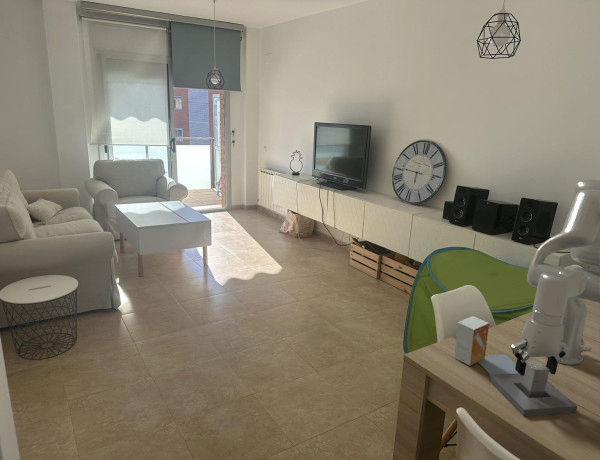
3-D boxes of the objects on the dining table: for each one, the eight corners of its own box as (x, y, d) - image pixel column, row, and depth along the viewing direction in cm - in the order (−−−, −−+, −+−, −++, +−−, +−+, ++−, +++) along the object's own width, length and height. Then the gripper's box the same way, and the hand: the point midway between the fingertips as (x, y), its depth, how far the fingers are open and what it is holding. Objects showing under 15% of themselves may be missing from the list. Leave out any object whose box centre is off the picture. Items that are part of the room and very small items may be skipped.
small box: (470, 366, 138) (474, 329, 134) (453, 357, 143) (456, 321, 139) (485, 358, 142) (489, 322, 139) (468, 350, 147) (472, 315, 144)
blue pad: (505, 355, 146) (505, 354, 146) (528, 376, 134) (529, 375, 134) (472, 357, 144) (472, 356, 144) (493, 378, 132) (493, 377, 132)
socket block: (536, 378, 134) (537, 372, 133) (575, 412, 118) (577, 406, 118) (489, 380, 131) (490, 374, 131) (523, 416, 116) (524, 409, 115)
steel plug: (532, 390, 127) (538, 360, 125) (542, 400, 123) (549, 369, 120) (518, 391, 126) (524, 361, 124) (528, 401, 122) (535, 370, 120)
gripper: (565, 310, 123) (552, 364, 127) (509, 311, 120) (499, 366, 125) (585, 322, 116) (571, 379, 120) (527, 323, 113) (515, 381, 117)
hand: (534, 372), depth 122 cm, fingers open, 9 cm apart
